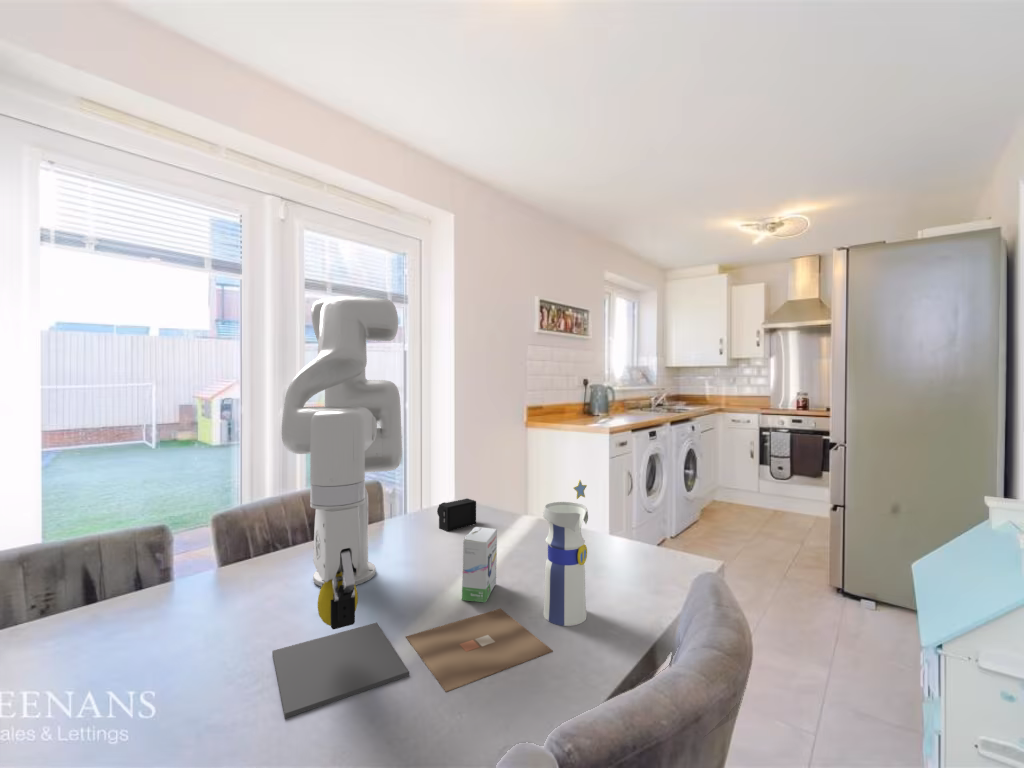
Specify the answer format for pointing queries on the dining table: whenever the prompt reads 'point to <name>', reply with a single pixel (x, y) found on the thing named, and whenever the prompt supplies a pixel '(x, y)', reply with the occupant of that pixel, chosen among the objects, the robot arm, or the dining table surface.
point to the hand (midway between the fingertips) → (338, 615)
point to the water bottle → (565, 562)
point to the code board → (475, 648)
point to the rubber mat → (335, 668)
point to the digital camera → (456, 514)
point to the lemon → (329, 600)
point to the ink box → (479, 564)
